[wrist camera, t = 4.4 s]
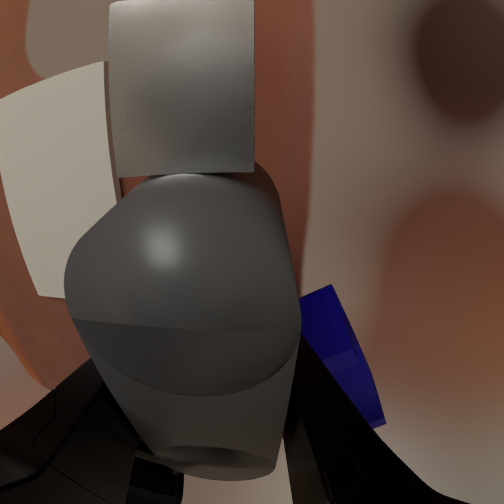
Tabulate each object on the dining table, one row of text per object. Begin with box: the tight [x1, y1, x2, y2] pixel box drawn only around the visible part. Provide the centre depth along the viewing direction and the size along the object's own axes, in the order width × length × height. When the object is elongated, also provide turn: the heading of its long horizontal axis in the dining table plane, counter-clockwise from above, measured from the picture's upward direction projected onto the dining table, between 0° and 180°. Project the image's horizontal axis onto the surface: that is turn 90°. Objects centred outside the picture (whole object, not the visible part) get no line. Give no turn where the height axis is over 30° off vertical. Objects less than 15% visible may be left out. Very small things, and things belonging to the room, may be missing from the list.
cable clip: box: [299, 284, 386, 429], centre depth 20 cm, size 12×4×6 cm, turn 29°
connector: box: [64, 0, 301, 481], centre depth 6 cm, size 4×12×4 cm, turn 0°
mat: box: [0, 61, 122, 298], centre depth 16 cm, size 16×10×1 cm, turn 0°
